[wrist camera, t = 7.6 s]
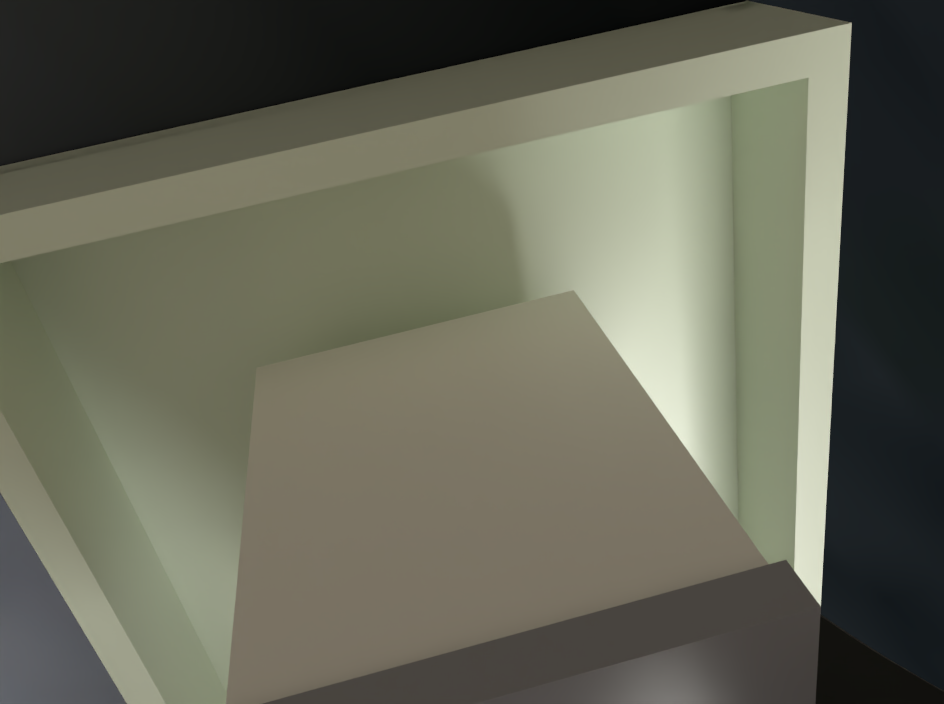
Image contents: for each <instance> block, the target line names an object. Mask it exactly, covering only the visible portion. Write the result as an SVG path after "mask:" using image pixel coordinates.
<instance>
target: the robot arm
mask: <svg viewBox="0 0 944 704" xmlns="http://www.w3.org/2000/svg"><path fill="white" fill-rule="evenodd" d="M815 704H944V691H943V690H941V689H939V688H937V687H936V686H934V685H932V684H930V683H928V682H927V681H925V680H923V679H922V678H920V677H918V676H916V675H915V674H913V673H911V672H910V671H908V670H906V669H905V668H903V667H901V666H900V665H898V664H896V663H894V662H893V661H891V660H889V659H888V658H886V657H885V656H883V655H881V654H880V653H878V652H877V651H875V650H873V649H872V648H870V647H869V646H867V645H866V644H864V643H862V642H861V641H859V640H858V639H856V638H855V637H853V636H852V635H850V634H849V633H847V632H846V631H844V630H843V629H841V628H840V627H838V626H837V625H835V624H834V623H832V622H831V621H830V620H828V619H827V618H825V617H824V616H822V615H821V614H820V630H819V648H818V666H817V684H816V702H815Z"/></svg>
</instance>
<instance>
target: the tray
mask: <svg viewBox="0 0 944 704" xmlns="http://www.w3.org/2000/svg"><path fill="white" fill-rule="evenodd" d="M851 26H852V23H850V22H845V21H841V20H836V19H831V18H827V17H822V16H817V15H812V14H808V13H803V12H798V11H794V10H789V9H784V8H779V7H775V6H770V5H765V4H761V3H756V2H751V1H744V2H740V3H735V4H730V5H726V6H721V7H717V8H712V9H708V10H703V11H699V12H694V13H690V14H685V15H681V16H676V17H672V18H667V19H663V20H658V21H654V22H649V23H645V24H640V25H636V26H631V27H627V28H622V29H618V30H613V31H609V32H604V33H600V34H595V35H590V36H586V37H581V38H577V39H572V40H568V41H563V42H559V43H554V44H550V45H545V46H541V47H536V48H532V49H527V50H523V51H518V52H514V53H509V54H505V55H500V56H496V57H491V58H487V59H482V60H478V61H473V62H469V63H464V64H460V65H455V66H450V67H446V68H441V69H437V70H432V71H428V72H423V73H419V74H414V75H410V76H405V77H401V78H396V79H392V80H387V81H383V82H378V83H374V84H369V85H365V86H360V87H356V88H351V89H347V90H342V91H338V92H333V93H329V94H324V95H320V96H315V97H310V98H306V99H301V100H297V101H292V102H288V103H283V104H279V105H274V106H270V107H265V108H261V109H256V110H252V111H247V112H243V113H238V114H234V115H229V116H225V117H220V118H216V119H211V120H207V121H202V122H198V123H193V124H189V125H184V126H180V127H175V128H171V129H166V130H161V131H157V132H152V133H148V134H143V135H139V136H134V137H130V138H125V139H121V140H116V141H112V142H107V143H103V144H98V145H94V146H89V147H85V148H80V149H76V150H71V151H67V152H62V153H58V154H53V155H49V156H44V157H40V158H35V159H30V160H26V161H21V162H17V163H12V164H8V165H3V166H0V493H1V495H2V496H3V498H4V500H5V501H6V503H7V505H8V506H9V508H10V510H11V511H12V513H13V515H14V516H15V518H16V520H17V521H18V523H19V525H20V526H21V528H22V530H23V531H24V533H25V535H26V536H27V538H28V540H29V541H30V543H31V545H32V546H33V548H34V550H35V551H36V553H37V555H38V556H39V558H40V560H41V561H42V563H43V565H44V566H45V568H46V570H47V571H48V573H49V575H50V576H51V578H52V580H53V581H54V583H55V585H56V586H57V588H58V590H59V591H60V593H61V595H62V596H63V598H64V600H65V601H66V603H67V605H68V606H69V608H70V610H71V611H72V613H73V615H74V616H75V618H76V620H77V621H78V623H79V625H80V626H81V628H82V630H83V631H84V633H85V635H86V636H87V638H88V640H89V641H90V643H91V645H92V646H93V648H94V650H95V651H96V653H97V655H98V656H99V658H100V660H101V661H102V663H103V665H104V666H105V668H106V670H107V671H108V673H109V675H110V676H111V678H112V680H113V681H114V683H115V685H116V686H117V688H118V690H119V691H120V693H121V695H122V696H123V698H124V700H125V701H126V703H127V704H226V697H227V686H228V675H229V664H230V653H231V642H232V632H233V621H234V610H235V599H236V588H237V577H238V566H239V555H240V544H241V533H242V522H243V511H244V500H245V489H246V478H247V467H248V457H249V446H250V435H251V424H252V413H253V402H254V391H255V380H256V369H257V367H261V366H265V365H270V364H274V363H278V362H282V361H286V360H290V359H294V358H298V357H302V356H306V355H310V354H314V353H319V352H323V351H327V350H331V349H335V348H339V347H343V346H347V345H351V344H355V343H359V342H363V341H368V340H372V339H376V338H380V337H384V336H388V335H392V334H396V333H400V332H404V331H408V330H412V329H417V328H421V327H425V326H429V325H433V324H437V323H441V322H445V321H449V320H453V319H457V318H461V317H466V316H470V315H474V314H478V313H482V312H486V311H490V310H494V309H498V308H502V307H506V306H510V305H515V304H519V303H523V302H527V301H531V300H535V299H539V298H543V297H547V296H551V295H555V294H560V293H564V292H568V291H572V290H574V291H575V293H576V294H577V295H578V297H579V298H580V300H581V301H582V302H583V304H584V305H585V307H586V308H587V309H588V311H589V312H590V314H591V315H592V316H593V318H594V319H595V321H596V322H597V324H598V325H599V326H600V328H601V329H602V331H603V332H604V333H605V335H606V336H607V338H608V339H609V340H610V342H611V343H612V345H613V346H614V347H615V349H616V350H617V352H618V353H619V354H620V356H621V357H622V359H623V360H624V362H625V363H626V364H627V366H628V367H629V369H630V370H631V371H632V373H633V374H634V376H635V377H636V378H637V380H638V381H639V383H640V384H641V385H642V387H643V388H644V390H645V391H646V393H647V394H648V395H649V397H650V398H651V400H652V401H653V402H654V404H655V405H656V407H657V408H658V409H659V411H660V412H661V414H662V415H663V416H664V418H665V419H666V421H667V422H668V424H669V425H670V426H671V428H672V429H673V431H674V432H675V433H676V435H677V436H678V438H679V439H680V440H681V442H682V443H683V445H684V446H685V447H686V449H687V450H688V452H689V453H690V454H691V456H692V457H693V459H694V460H695V462H696V463H697V464H698V466H699V467H700V469H701V470H702V471H703V473H704V474H705V476H706V477H707V478H708V480H709V481H710V483H711V484H712V485H713V487H714V488H715V490H716V491H717V493H718V494H719V495H720V497H721V498H722V500H723V501H724V502H725V504H726V505H727V507H728V508H729V509H730V511H731V512H732V514H733V515H734V516H735V518H736V519H737V521H738V522H739V524H740V525H741V526H742V528H743V529H744V531H745V532H746V533H747V535H748V536H749V538H750V539H751V540H752V542H753V543H754V545H755V546H756V547H757V549H758V550H759V552H760V553H761V555H762V556H763V557H764V559H765V560H766V562H767V563H768V564H772V563H776V562H779V561H783V560H787V562H788V563H789V564H790V566H791V567H792V568H793V570H794V571H795V572H796V574H797V575H798V576H799V578H800V579H801V580H802V582H803V583H804V585H805V586H806V587H807V589H808V590H809V591H810V593H811V594H812V595H813V597H814V598H815V599H816V601H817V602H818V603H819V605H820V606H821V591H822V572H823V554H824V535H825V516H826V497H827V478H828V459H829V440H830V422H831V403H832V384H833V365H834V346H835V327H836V309H837V290H838V271H839V252H840V233H841V214H842V196H843V177H844V158H845V139H846V120H847V101H848V83H849V64H850V45H851Z"/></svg>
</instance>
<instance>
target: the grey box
mask: <svg viewBox="0 0 944 704" xmlns="http://www.w3.org/2000/svg"><path fill="white" fill-rule="evenodd" d="M820 613H821V606H820V605H819V603H818V602H817V601H816V599H815V598H814V597H813V595H812V594H811V593H810V591H809V590H808V589H807V587H806V586H805V585H804V583H803V582H802V580H801V579H800V578H799V576H798V575H797V574H796V572H795V571H794V570H793V568H792V567H791V566H790V564H789V563H788V562H787V560H783V561H779V562H776V563H772V564H768V563H767V562H766V560H765V559H764V557H763V556H762V555H761V553H760V552H759V550H758V549H757V547H756V546H755V545H754V543H753V542H752V540H751V539H750V538H749V536H748V535H747V533H746V532H745V531H744V529H743V528H742V526H741V525H740V524H739V522H738V521H737V519H736V518H735V516H734V515H733V514H732V512H731V511H730V509H729V508H728V507H727V505H726V504H725V502H724V501H723V500H722V498H721V497H720V495H719V494H718V493H717V491H716V490H715V488H714V487H713V485H712V484H711V483H710V481H709V480H708V478H707V477H706V476H705V474H704V473H703V471H702V470H701V469H700V467H699V466H698V464H697V463H696V462H695V460H694V459H693V457H692V456H691V454H690V453H689V452H688V450H687V449H686V447H685V446H684V445H683V443H682V442H681V440H680V439H679V438H678V436H677V435H676V433H675V432H674V431H673V429H672V428H671V426H670V425H669V424H668V422H667V421H666V419H665V418H664V416H663V415H662V414H661V412H660V411H659V409H658V408H657V407H656V405H655V404H654V402H653V401H652V400H651V398H650V397H649V395H648V394H647V393H646V391H645V390H644V388H643V387H642V385H641V384H640V383H639V381H638V380H637V378H636V377H635V376H634V374H633V373H632V371H631V370H630V369H629V367H628V366H627V364H626V363H625V362H624V360H623V359H622V357H621V356H620V354H619V353H618V352H617V350H616V349H615V347H614V346H613V345H612V343H611V342H610V340H609V339H608V338H607V336H606V335H605V333H604V332H603V331H602V329H601V328H600V326H599V325H598V324H597V322H596V321H595V319H594V318H593V316H592V315H591V314H590V312H589V311H588V309H587V308H586V307H585V305H584V304H583V302H582V301H581V300H580V298H579V297H578V295H577V294H576V293H575V291H574V290H572V291H568V292H564V293H560V294H555V295H551V296H547V297H543V298H539V299H535V300H531V301H527V302H523V303H519V304H515V305H510V306H506V307H502V308H498V309H494V310H490V311H486V312H482V313H478V314H474V315H470V316H466V317H461V318H457V319H453V320H449V321H445V322H441V323H437V324H433V325H429V326H425V327H421V328H417V329H412V330H408V331H404V332H400V333H396V334H392V335H388V336H384V337H380V338H376V339H372V340H368V341H363V342H359V343H355V344H351V345H347V346H343V347H339V348H335V349H331V350H327V351H323V352H319V353H314V354H310V355H306V356H302V357H298V358H294V359H290V360H286V361H282V362H278V363H274V364H270V365H265V366H261V367H257V369H256V380H255V391H254V402H253V413H252V424H251V435H250V446H249V457H248V467H247V478H246V489H245V500H244V511H243V522H242V533H241V544H240V555H239V566H238V577H237V588H236V599H235V610H234V621H233V632H232V642H231V653H230V664H229V675H228V686H227V697H226V704H815V702H816V684H817V666H818V648H819V630H820Z"/></svg>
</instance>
